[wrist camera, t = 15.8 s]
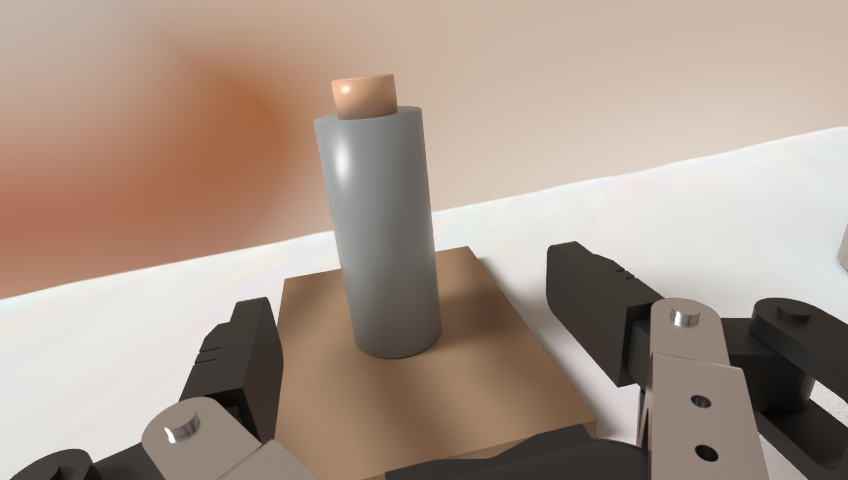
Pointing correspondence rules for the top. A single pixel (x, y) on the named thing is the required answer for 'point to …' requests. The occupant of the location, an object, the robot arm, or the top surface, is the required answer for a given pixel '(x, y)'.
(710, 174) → the top surface
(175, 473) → the robot arm
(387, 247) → the slate bottle
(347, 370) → the walnut board
